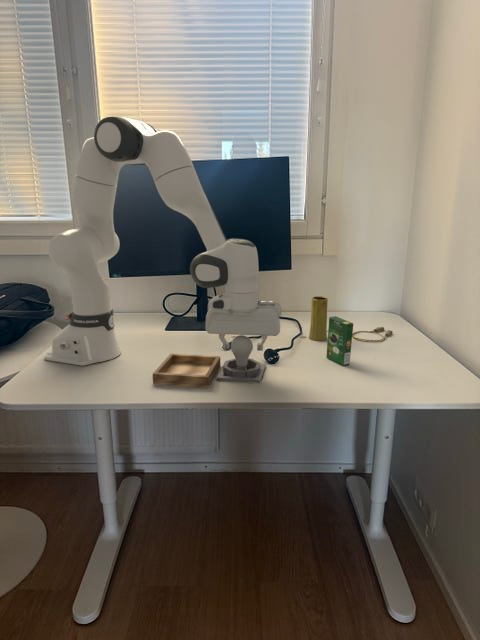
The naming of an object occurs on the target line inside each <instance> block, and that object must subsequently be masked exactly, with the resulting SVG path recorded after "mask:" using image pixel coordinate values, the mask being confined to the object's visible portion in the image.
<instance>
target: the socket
mask: <svg viewBox="0 0 480 640" xmlns="http://www.w3.org/2000/svg"><path fill="white" fill-rule="evenodd" d="M266 366H267V365H266V363H261V362H260V361H257V360H255V359H254V358H248V363H247V367H246V371H243V370H237V364H236V358H235V357H234V358H232V359H228V360H226V361H224V363H223V364H222V367H220V368H221V369H219V372H218V374H216V376H215V377H216V379H215V380H216V381H218V380H220V381H219V382H221V381H223V382H233V383H234V382H235V383H248V384H249V383H250V384H261V382H262V380H263V376H264V372H265V370H266ZM247 368H249V369H247Z"/></svg>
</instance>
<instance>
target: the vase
mask: <svg viewBox="0 0 480 640" xmlns="http://www.w3.org/2000/svg"><path fill="white" fill-rule="evenodd" d="M328 300H329V299H328V297H325V296H321V295H318V296H312V297H311V308H310V309H311V310H310V311H311V312H310V325H309V335H308V338H309V339H310V340H311V341H315V342H323V341H325V340H328V331H327V330H328V326H327V325H328V324H327V323H328Z"/></svg>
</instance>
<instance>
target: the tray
mask: <svg viewBox="0 0 480 640" xmlns="http://www.w3.org/2000/svg"><path fill="white" fill-rule="evenodd" d="M220 368H221V356H219V355H218V356H216V355H215V356H214V355H202V354H200V355H199V354H187V353H186V354H185V353H184V354H183V353H170V354H169V355H168V356H167V357H166V358H165V359H164V360H163V362H161V364H160V365H159V366H158V367H157V368H156V369H155V370H154V372H152V384H153V385H161V386H176V387H187V388H188V387H189V388H190V387H191V388H204V389H208V388H209V387H210V386H211V384H212V382H213V381H212V380H214V379H215V377H216V376H217V373H218V371H220Z"/></svg>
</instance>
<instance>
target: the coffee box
mask: <svg viewBox="0 0 480 640" xmlns="http://www.w3.org/2000/svg"><path fill="white" fill-rule="evenodd" d="M327 330H328V331H327V344H326V345H327V346H326V347H327V348H326V358H327V359H328V360H330V361H333V362H334V363H336V364H338V365H340V366H342V367H346V366H349V365H350V364H351V362H350V361H351V354H352V343H353V337H352V334H353V333H354V322H351V321H349V320H346V319H344V318H341V317H339V316H329V317H328V326H327Z"/></svg>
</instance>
